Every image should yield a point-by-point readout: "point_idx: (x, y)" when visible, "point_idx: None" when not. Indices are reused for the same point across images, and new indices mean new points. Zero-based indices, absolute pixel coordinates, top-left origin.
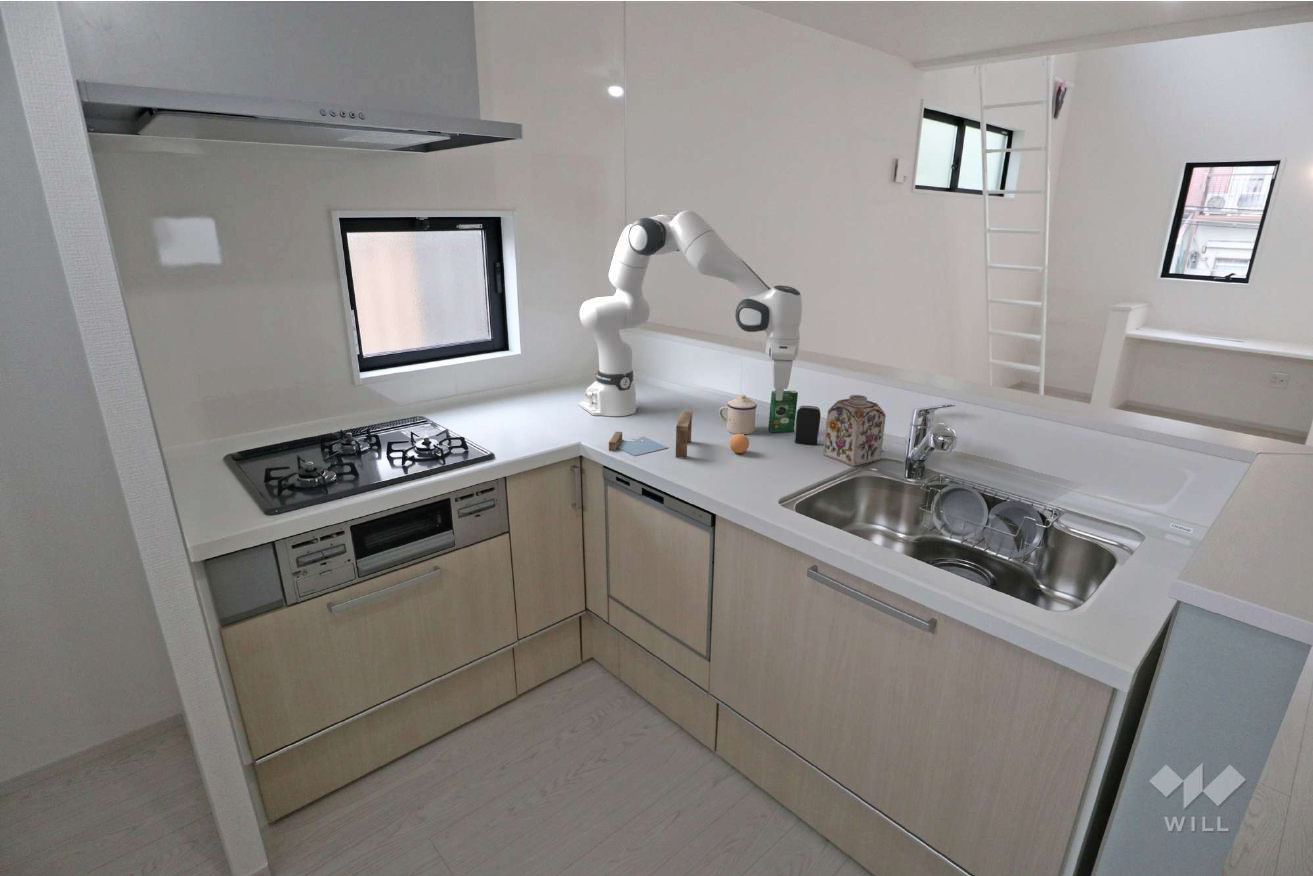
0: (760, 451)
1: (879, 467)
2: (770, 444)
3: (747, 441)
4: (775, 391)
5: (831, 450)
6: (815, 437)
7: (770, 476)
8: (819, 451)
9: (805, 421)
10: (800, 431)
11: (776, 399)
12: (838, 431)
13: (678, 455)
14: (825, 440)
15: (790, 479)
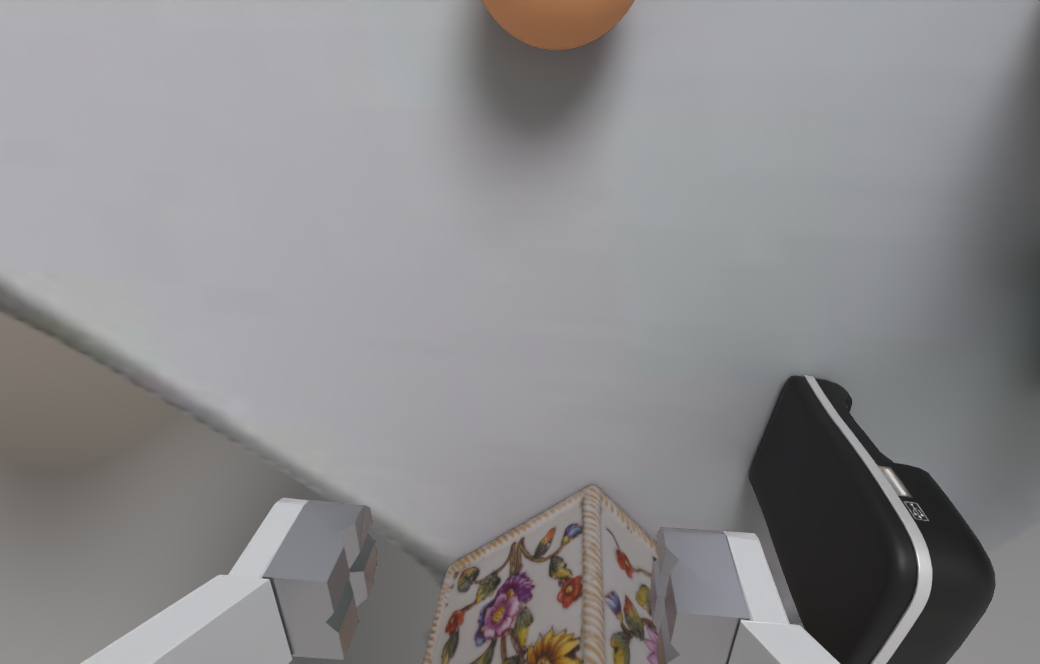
0: (614, 142)
1: None
2: (774, 219)
3: (518, 31)
4: (676, 559)
5: (548, 535)
6: (761, 501)
7: (179, 193)
8: (649, 473)
9: (823, 525)
10: (806, 447)
11: (282, 507)
12: (515, 659)
13: None
14: (583, 549)
15: (184, 296)
